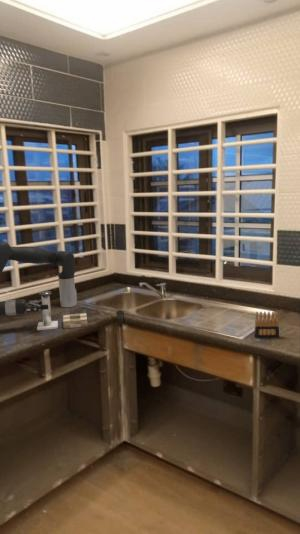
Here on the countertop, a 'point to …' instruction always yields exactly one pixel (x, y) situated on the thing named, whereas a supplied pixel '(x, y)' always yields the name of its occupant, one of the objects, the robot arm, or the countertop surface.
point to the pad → (43, 327)
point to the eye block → (75, 320)
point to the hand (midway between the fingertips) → (48, 304)
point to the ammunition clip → (266, 326)
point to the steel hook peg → (46, 312)
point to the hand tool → (120, 317)
